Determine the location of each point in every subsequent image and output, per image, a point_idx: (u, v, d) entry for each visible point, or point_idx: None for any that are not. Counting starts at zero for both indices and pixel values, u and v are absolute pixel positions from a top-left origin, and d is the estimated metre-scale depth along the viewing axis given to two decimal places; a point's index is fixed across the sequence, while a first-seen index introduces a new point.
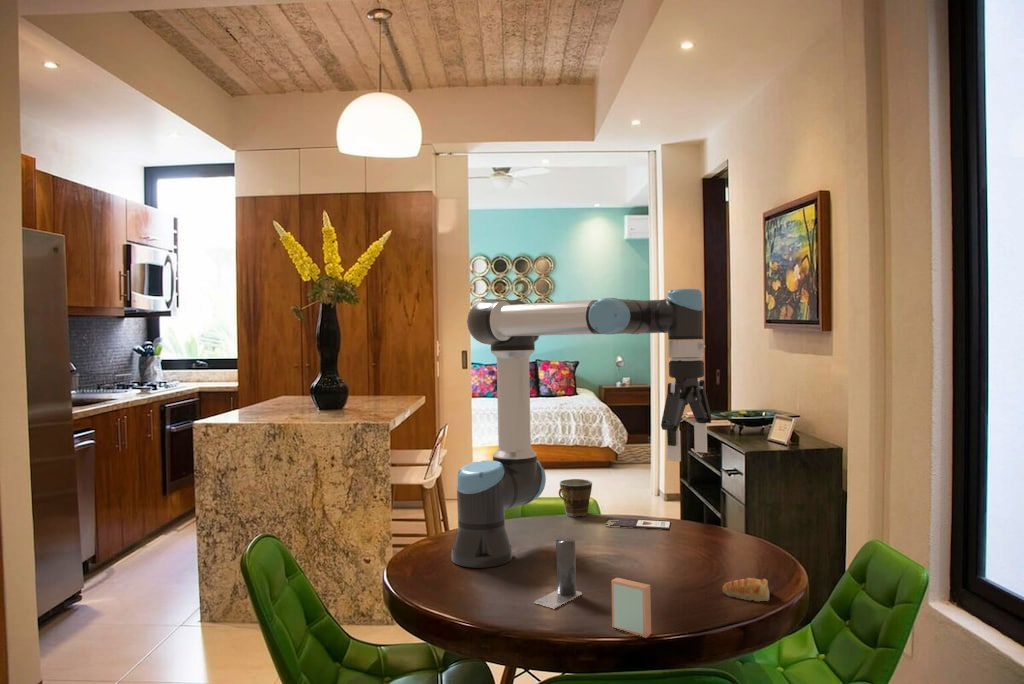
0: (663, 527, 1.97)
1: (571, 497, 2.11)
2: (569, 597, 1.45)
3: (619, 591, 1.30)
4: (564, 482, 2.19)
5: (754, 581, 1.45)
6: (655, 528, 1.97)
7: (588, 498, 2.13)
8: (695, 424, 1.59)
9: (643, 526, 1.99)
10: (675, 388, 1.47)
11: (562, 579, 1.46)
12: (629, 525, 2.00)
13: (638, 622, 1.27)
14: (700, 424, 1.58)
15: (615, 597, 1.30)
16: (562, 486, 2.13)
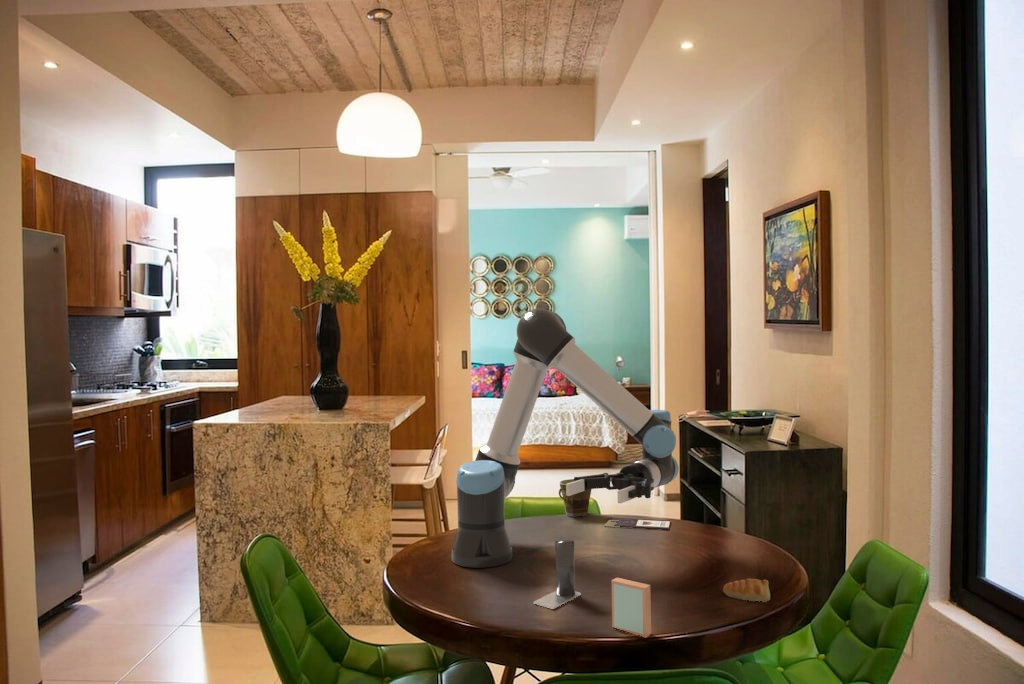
0: (663, 527, 1.97)
1: (571, 497, 2.11)
2: (568, 598, 1.45)
3: (619, 591, 1.30)
4: (564, 482, 2.19)
5: (755, 582, 1.44)
6: (655, 528, 1.97)
7: (588, 498, 2.13)
8: (583, 480, 1.65)
9: (643, 526, 1.99)
10: (652, 487, 1.64)
11: (561, 580, 1.46)
12: (629, 525, 2.00)
13: (638, 622, 1.27)
14: (583, 485, 1.65)
15: (615, 597, 1.30)
16: (562, 486, 2.13)
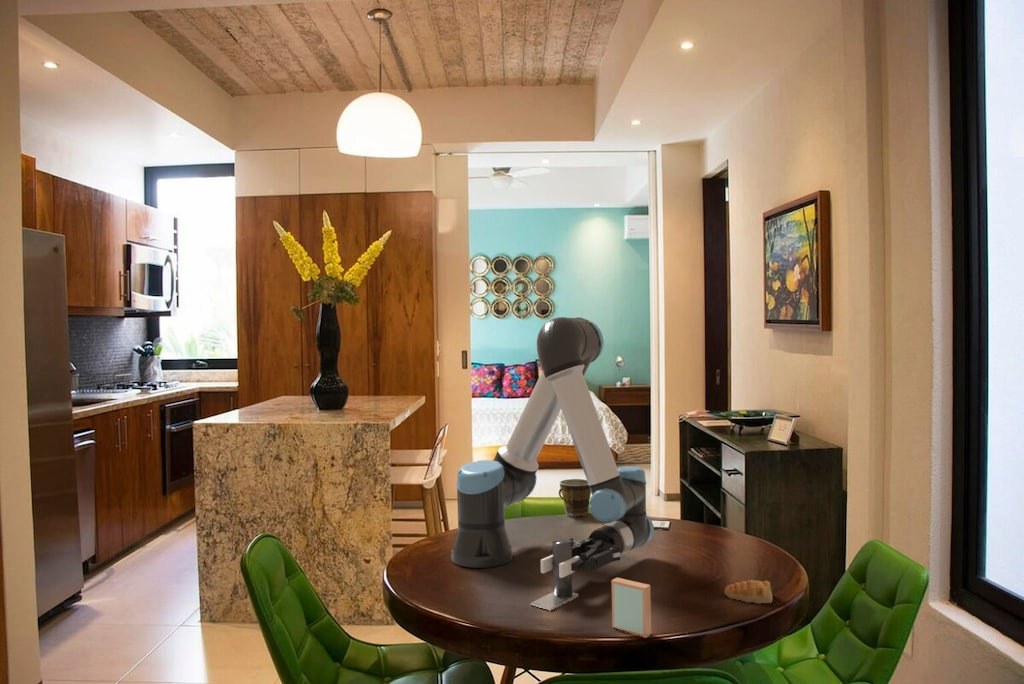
0: (662, 527, 1.97)
1: (571, 497, 2.11)
2: (565, 599, 1.44)
3: (619, 591, 1.30)
4: (564, 482, 2.19)
5: (757, 583, 1.43)
6: (654, 528, 1.97)
7: (588, 498, 2.13)
8: None
9: None
10: (616, 557, 1.52)
11: (559, 581, 1.45)
12: None
13: (638, 622, 1.27)
14: None
15: (615, 597, 1.30)
16: (562, 486, 2.13)
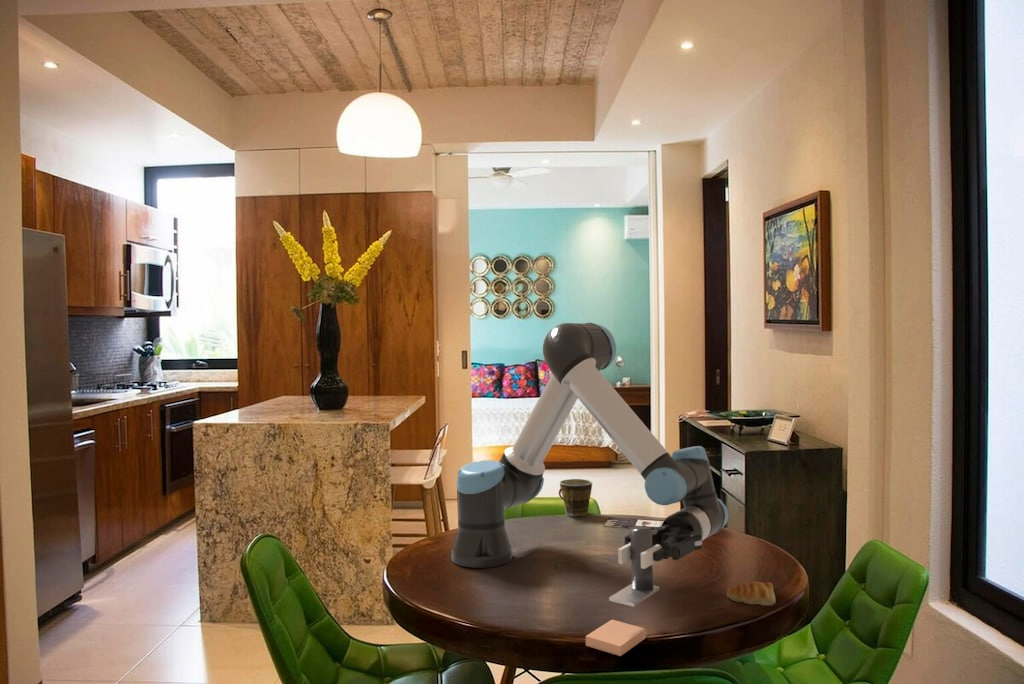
0: None
1: (571, 497, 2.11)
2: (647, 592, 1.29)
3: None
4: (564, 482, 2.19)
5: (759, 585, 1.42)
6: None
7: (588, 498, 2.13)
8: None
9: None
10: (698, 545, 1.37)
11: (639, 572, 1.30)
12: (628, 525, 2.00)
13: None
14: None
15: None
16: (562, 486, 2.13)
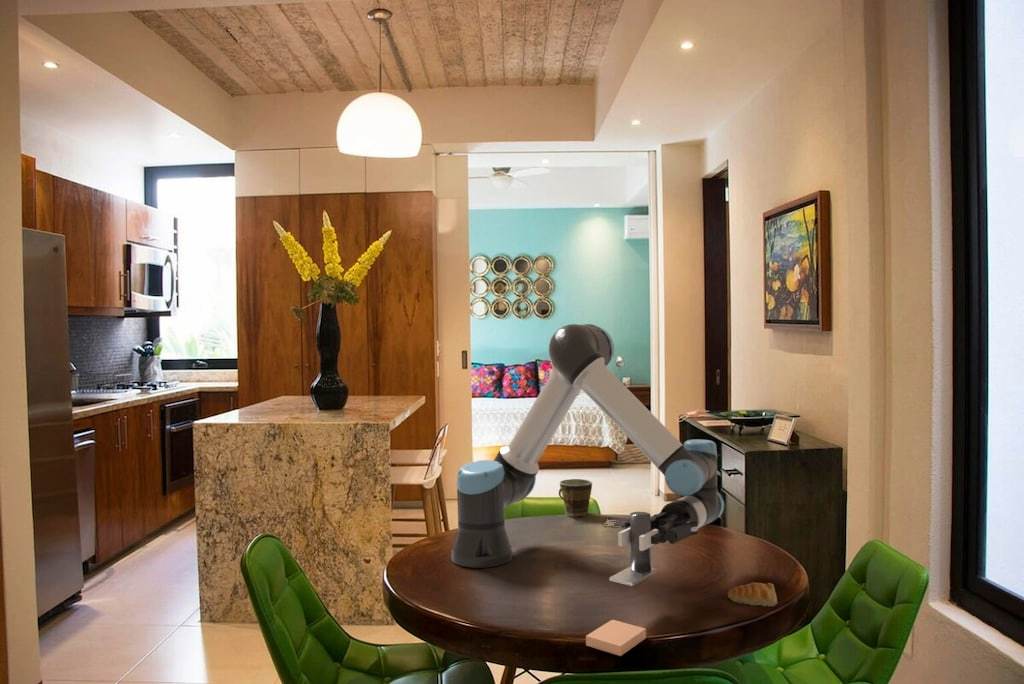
0: None
1: (571, 497, 2.11)
2: (645, 573, 1.37)
3: None
4: (564, 482, 2.19)
5: (761, 586, 1.42)
6: None
7: (588, 498, 2.13)
8: None
9: None
10: (694, 531, 1.45)
11: (638, 555, 1.38)
12: None
13: None
14: None
15: None
16: (562, 486, 2.13)
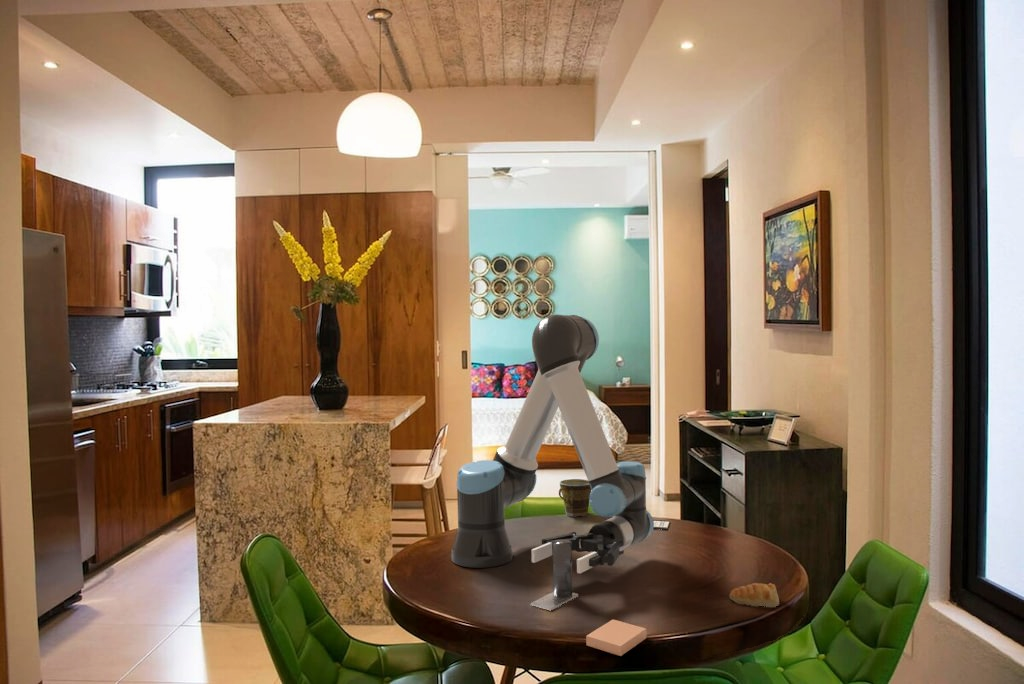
0: (661, 527, 1.97)
1: (571, 497, 2.11)
2: (565, 599, 1.44)
3: None
4: (564, 482, 2.19)
5: (762, 586, 1.41)
6: (653, 528, 1.97)
7: (588, 498, 2.13)
8: (551, 544, 1.53)
9: None
10: (621, 551, 1.53)
11: (559, 581, 1.45)
12: None
13: None
14: (551, 549, 1.53)
15: None
16: (562, 486, 2.13)
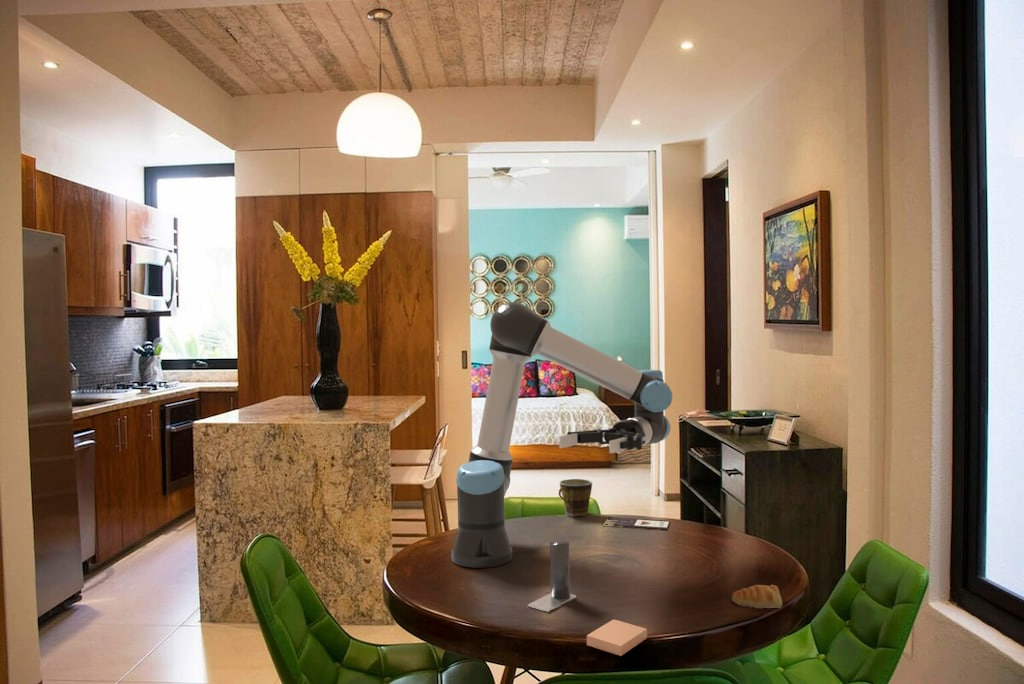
0: (661, 527, 1.97)
1: (571, 497, 2.11)
2: (563, 600, 1.44)
3: None
4: (564, 482, 2.19)
5: (765, 588, 1.41)
6: (653, 528, 1.97)
7: (588, 498, 2.13)
8: (576, 434, 1.69)
9: (641, 526, 1.99)
10: (644, 441, 1.67)
11: (556, 582, 1.45)
12: (627, 525, 2.00)
13: None
14: (576, 439, 1.69)
15: None
16: (562, 486, 2.13)
